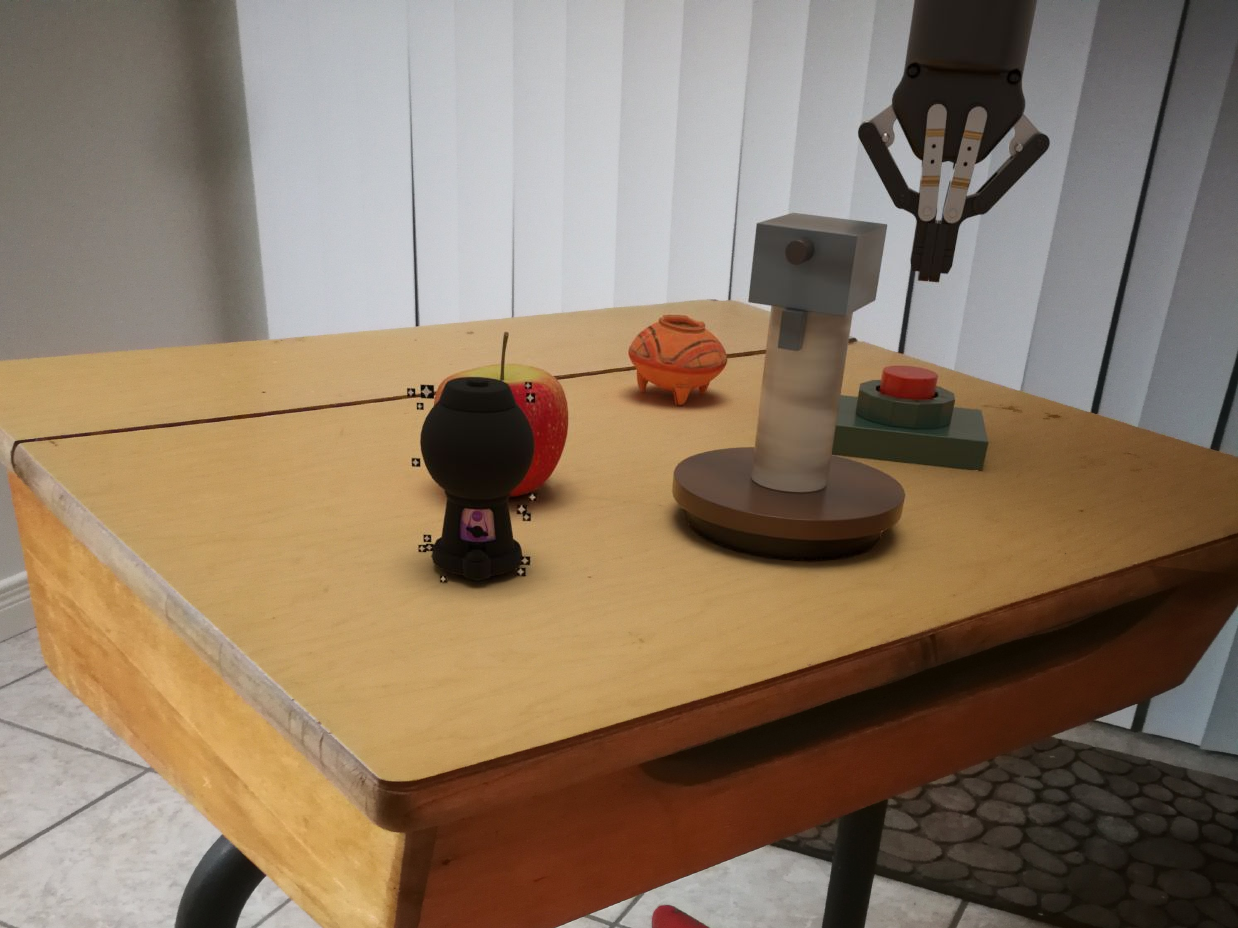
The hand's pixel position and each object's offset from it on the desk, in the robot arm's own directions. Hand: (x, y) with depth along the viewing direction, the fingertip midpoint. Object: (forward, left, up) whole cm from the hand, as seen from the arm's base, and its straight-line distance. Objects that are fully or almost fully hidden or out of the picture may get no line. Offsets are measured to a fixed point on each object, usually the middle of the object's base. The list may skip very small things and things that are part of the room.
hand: (927, 279), depth 89 cm
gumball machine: (+23, +34, -12) cm, 43 cm away
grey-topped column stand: (+7, +21, -10) cm, 24 cm away
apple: (+25, +21, -12) cm, 35 cm away
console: (0, 0, -12) cm, 12 cm away
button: (0, 0, -8) cm, 8 cm away
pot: (+18, -7, -12) cm, 23 cm away
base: (+7, +21, -12) cm, 25 cm away
